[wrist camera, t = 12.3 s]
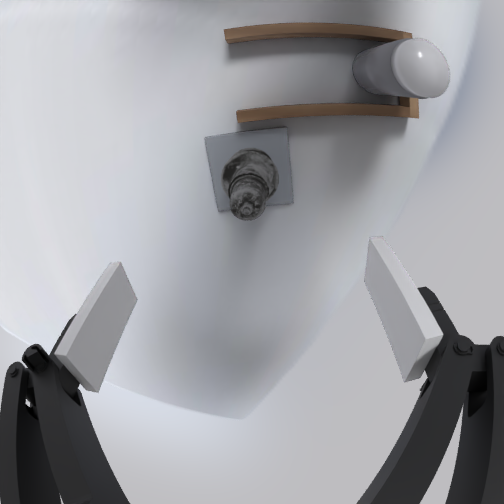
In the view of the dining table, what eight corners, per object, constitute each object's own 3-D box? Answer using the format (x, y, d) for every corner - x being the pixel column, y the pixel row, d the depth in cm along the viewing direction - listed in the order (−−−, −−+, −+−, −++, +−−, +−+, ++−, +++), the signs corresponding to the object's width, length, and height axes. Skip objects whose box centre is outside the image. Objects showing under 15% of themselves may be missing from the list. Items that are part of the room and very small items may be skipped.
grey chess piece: (280, 190, 32) (290, 242, 22) (230, 198, 32) (216, 252, 22) (272, 141, 29) (281, 169, 19) (219, 149, 29) (198, 182, 19)
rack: (226, 34, 23) (223, 29, 21) (401, 36, 21) (411, 33, 19) (239, 120, 28) (237, 122, 26) (408, 115, 26) (418, 118, 24)
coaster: (205, 137, 29) (204, 138, 29) (286, 127, 28) (286, 127, 28) (218, 209, 34) (218, 211, 33) (293, 201, 33) (293, 203, 33)
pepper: (350, 47, 23) (392, 30, 14) (394, 52, 22) (448, 43, 13) (355, 93, 26) (399, 96, 16) (398, 95, 25) (453, 104, 16)
